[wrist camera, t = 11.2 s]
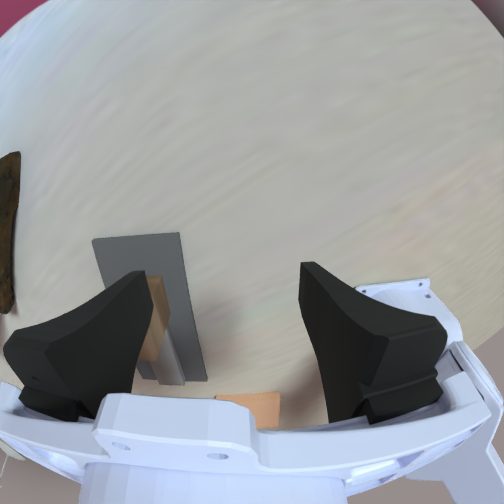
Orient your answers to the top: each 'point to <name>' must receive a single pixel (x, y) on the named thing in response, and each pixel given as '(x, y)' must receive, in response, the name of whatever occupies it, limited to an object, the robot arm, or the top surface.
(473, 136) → the top surface
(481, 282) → the top surface
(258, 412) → the tile
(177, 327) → the tool mat
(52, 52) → the top surface
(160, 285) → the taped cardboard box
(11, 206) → the hand tool
